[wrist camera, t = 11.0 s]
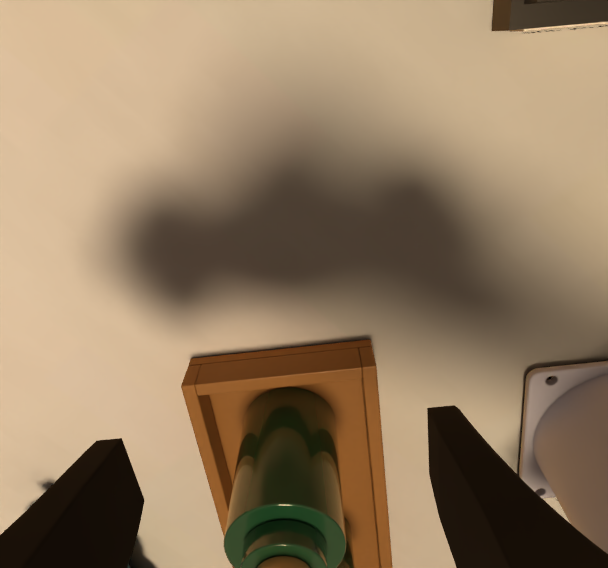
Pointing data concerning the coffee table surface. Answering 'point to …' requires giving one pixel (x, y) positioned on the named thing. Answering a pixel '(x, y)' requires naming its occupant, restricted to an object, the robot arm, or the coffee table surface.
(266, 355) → the tray
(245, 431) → the green bottle
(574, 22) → the figurine
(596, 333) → the coffee table surface
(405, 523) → the coffee table surface
